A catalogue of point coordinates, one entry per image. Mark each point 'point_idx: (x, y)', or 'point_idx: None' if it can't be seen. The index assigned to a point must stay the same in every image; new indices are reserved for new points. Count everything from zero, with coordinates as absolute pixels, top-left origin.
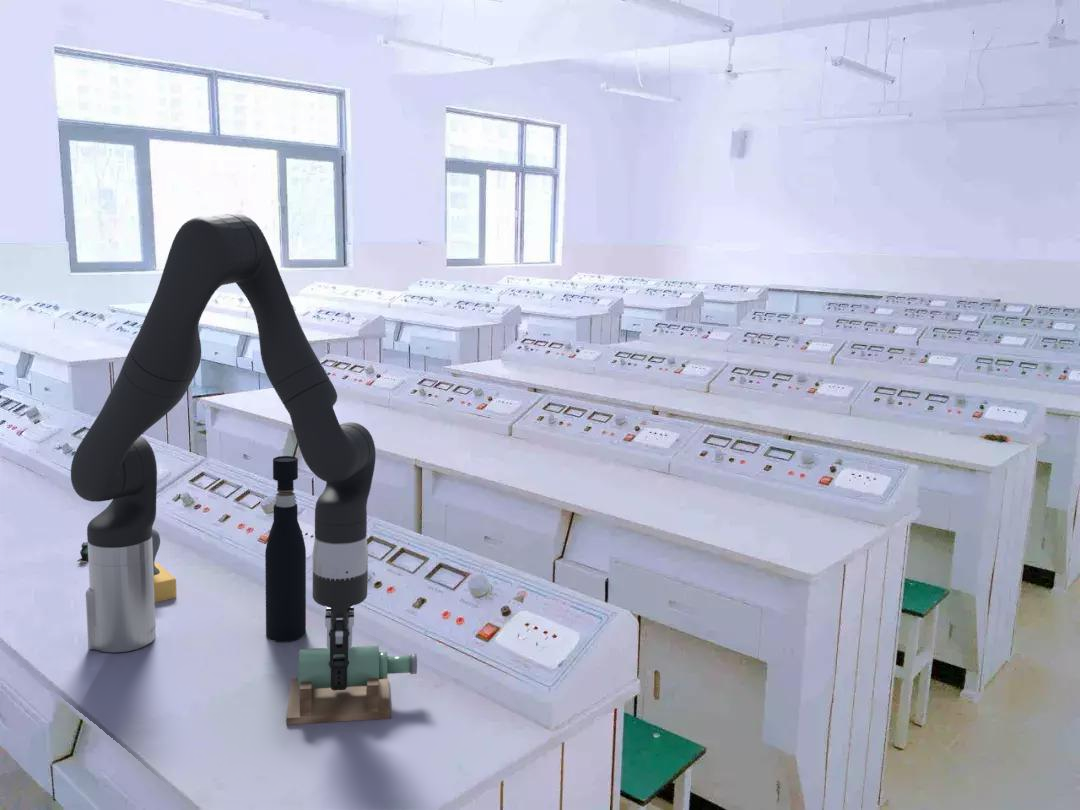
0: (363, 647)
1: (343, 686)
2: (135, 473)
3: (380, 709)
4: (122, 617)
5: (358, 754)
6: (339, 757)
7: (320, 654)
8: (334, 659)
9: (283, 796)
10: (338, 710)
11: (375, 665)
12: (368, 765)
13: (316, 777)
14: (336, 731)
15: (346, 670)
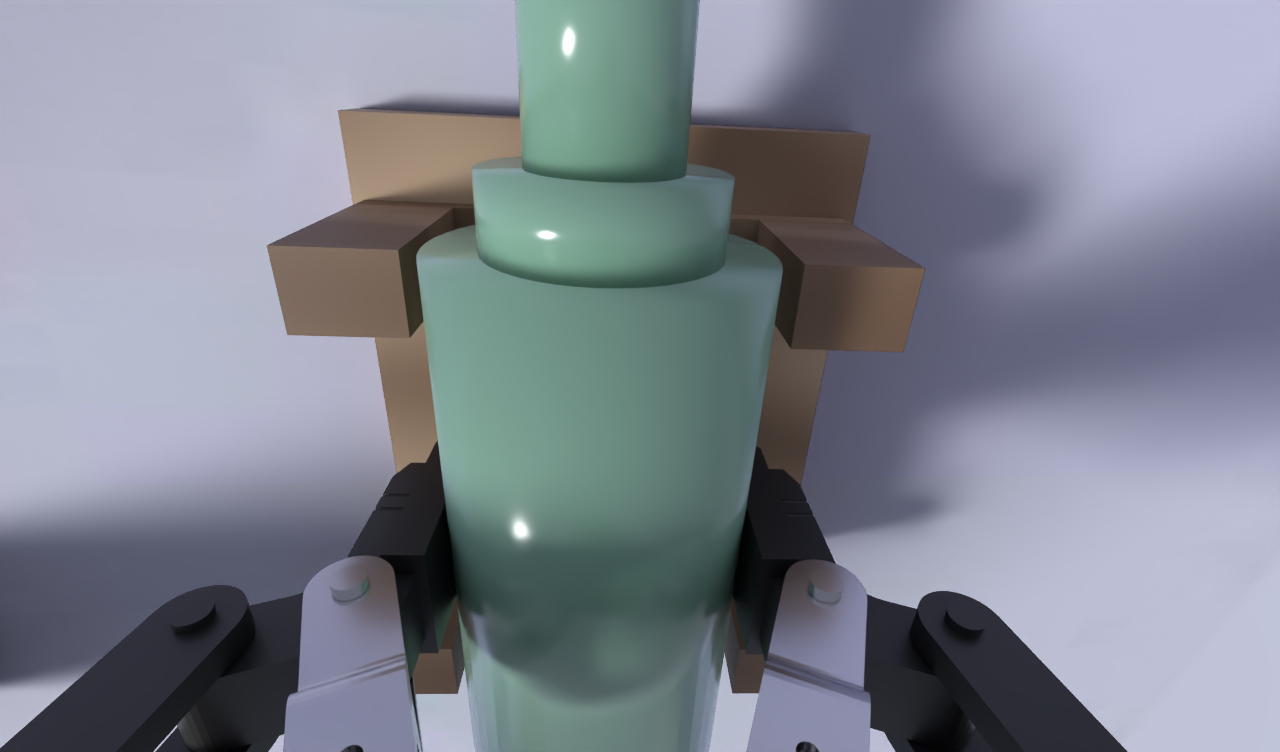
0: (565, 464)
1: (791, 479)
2: None
3: (824, 201)
4: None
5: (1122, 325)
6: (1101, 404)
7: (645, 741)
8: (952, 743)
9: (1236, 575)
10: (769, 424)
11: (771, 314)
12: (1237, 284)
13: (1191, 484)
14: (884, 413)
15: (790, 531)
